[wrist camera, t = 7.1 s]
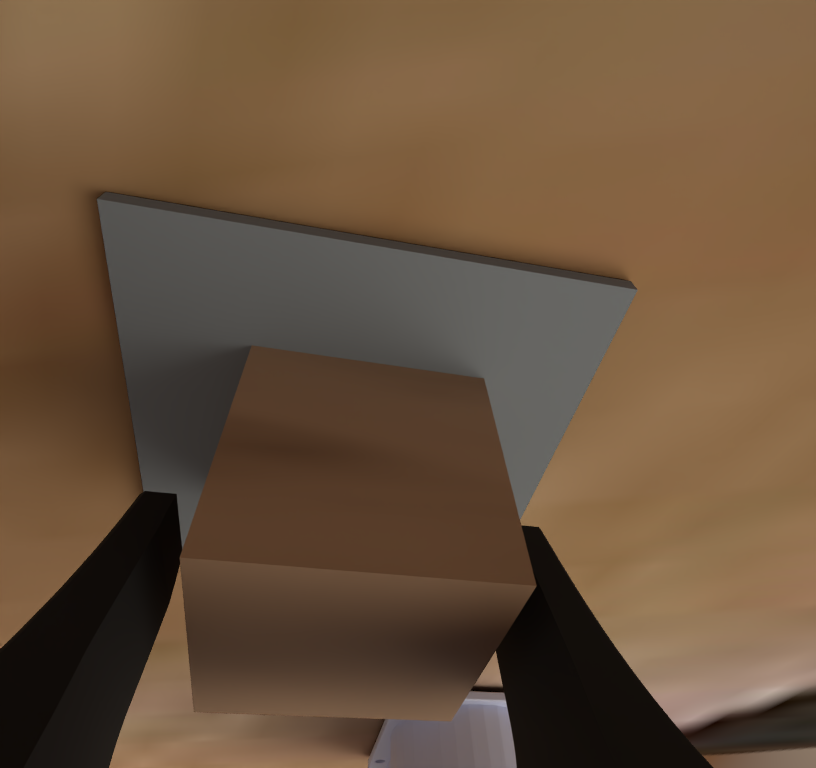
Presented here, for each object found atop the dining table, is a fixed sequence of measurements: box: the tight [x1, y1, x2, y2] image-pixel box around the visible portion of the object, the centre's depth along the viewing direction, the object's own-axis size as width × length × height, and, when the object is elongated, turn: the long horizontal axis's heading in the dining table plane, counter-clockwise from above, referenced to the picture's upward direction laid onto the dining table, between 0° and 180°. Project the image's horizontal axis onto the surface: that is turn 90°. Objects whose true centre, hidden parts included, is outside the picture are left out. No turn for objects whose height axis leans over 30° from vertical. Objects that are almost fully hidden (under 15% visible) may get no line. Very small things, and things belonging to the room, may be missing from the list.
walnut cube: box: [180, 345, 536, 721], centre depth 12 cm, size 6×6×6 cm
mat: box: [97, 192, 637, 549], centre depth 14 cm, size 11×11×1 cm
